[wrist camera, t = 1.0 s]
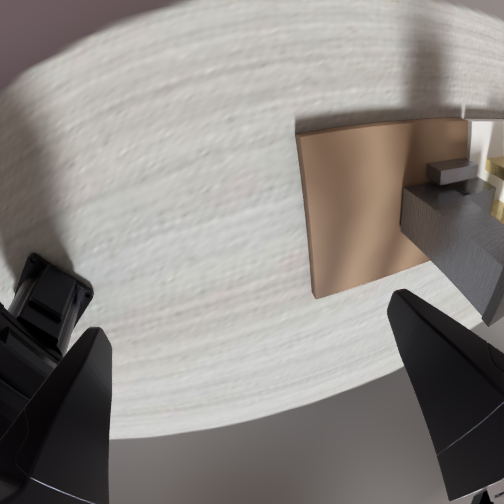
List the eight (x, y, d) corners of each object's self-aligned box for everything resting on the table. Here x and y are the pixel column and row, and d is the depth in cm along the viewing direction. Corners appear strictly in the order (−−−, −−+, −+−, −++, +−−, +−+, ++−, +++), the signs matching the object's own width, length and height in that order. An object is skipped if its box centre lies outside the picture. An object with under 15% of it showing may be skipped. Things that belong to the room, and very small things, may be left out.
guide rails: (419, 237, 24) (430, 248, 22) (426, 163, 20) (441, 171, 18) (454, 225, 24) (466, 235, 23) (464, 157, 20) (477, 164, 19)
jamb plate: (448, 246, 27) (454, 251, 26) (464, 118, 19) (472, 121, 18) (492, 229, 27) (497, 233, 27) (508, 119, 20) (515, 122, 19)
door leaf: (311, 292, 26) (315, 299, 25) (295, 134, 18) (300, 137, 17) (445, 247, 27) (451, 252, 26) (460, 117, 19) (468, 120, 18)
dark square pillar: (399, 232, 23) (488, 326, 13) (402, 186, 20) (512, 275, 11) (472, 209, 23) (552, 276, 14) (478, 171, 21) (569, 233, 11)
